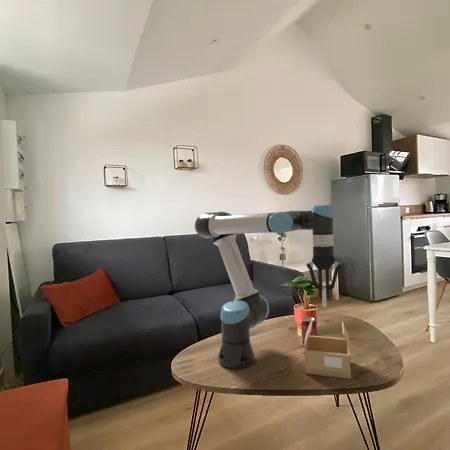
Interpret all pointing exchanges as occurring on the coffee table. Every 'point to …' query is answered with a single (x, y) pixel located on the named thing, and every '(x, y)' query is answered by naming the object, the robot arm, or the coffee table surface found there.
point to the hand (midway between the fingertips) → (324, 306)
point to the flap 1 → (308, 333)
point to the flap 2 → (346, 337)
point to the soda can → (305, 325)
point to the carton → (327, 357)
